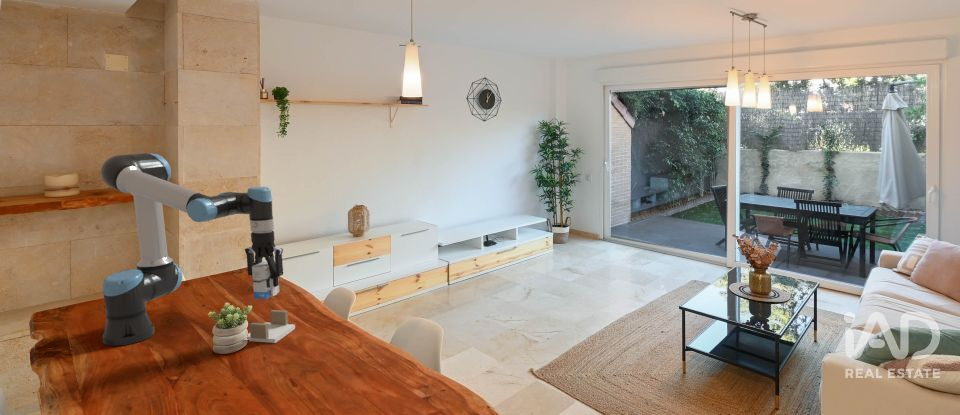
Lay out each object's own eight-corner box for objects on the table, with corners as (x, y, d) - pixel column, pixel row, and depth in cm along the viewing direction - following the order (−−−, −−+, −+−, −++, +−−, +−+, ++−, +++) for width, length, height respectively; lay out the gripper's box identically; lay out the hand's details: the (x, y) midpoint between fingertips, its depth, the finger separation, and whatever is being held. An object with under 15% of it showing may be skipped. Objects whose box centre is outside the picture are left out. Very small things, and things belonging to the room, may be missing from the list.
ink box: (265, 299, 173) (263, 267, 172) (253, 298, 174) (250, 266, 173) (280, 291, 182) (278, 260, 180) (268, 291, 183) (266, 260, 181)
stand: (243, 341, 175) (241, 323, 174) (266, 325, 188) (265, 309, 187) (274, 343, 173) (273, 326, 172) (295, 327, 186) (294, 311, 185)
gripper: (232, 232, 172) (237, 296, 176) (279, 234, 169) (284, 299, 173) (246, 228, 180) (251, 290, 183) (291, 229, 176) (295, 292, 180)
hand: (267, 294), depth 178 cm, fingers closed on ink box, 5 cm apart
